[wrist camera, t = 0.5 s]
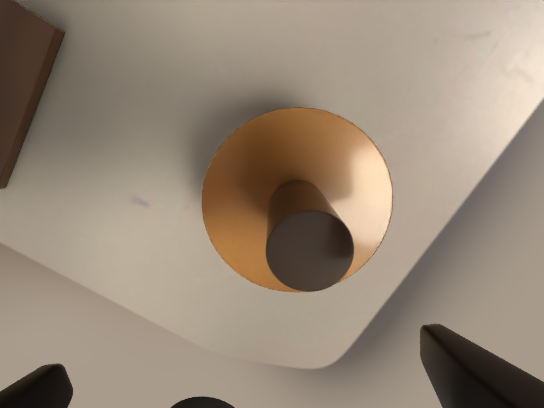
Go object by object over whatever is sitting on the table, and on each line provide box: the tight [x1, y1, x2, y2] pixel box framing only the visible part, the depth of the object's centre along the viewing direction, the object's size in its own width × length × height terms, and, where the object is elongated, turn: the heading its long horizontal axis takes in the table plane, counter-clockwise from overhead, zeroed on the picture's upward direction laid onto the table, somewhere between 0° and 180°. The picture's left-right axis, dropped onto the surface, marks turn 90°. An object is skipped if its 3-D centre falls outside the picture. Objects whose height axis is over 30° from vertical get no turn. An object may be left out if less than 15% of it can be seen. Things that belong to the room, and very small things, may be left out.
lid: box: [202, 107, 393, 292], centre depth 13 cm, size 10×10×7 cm
